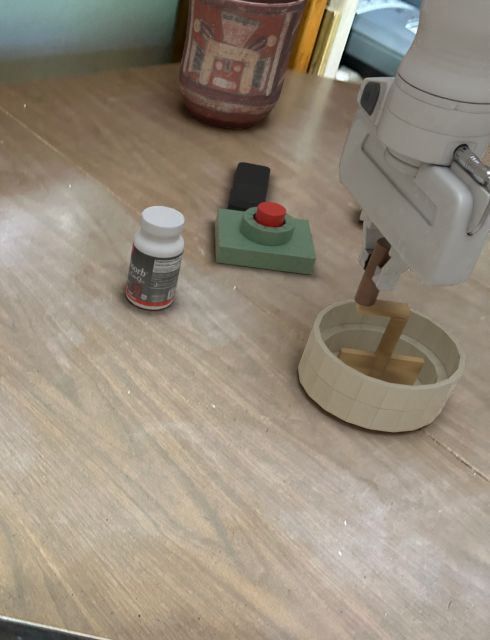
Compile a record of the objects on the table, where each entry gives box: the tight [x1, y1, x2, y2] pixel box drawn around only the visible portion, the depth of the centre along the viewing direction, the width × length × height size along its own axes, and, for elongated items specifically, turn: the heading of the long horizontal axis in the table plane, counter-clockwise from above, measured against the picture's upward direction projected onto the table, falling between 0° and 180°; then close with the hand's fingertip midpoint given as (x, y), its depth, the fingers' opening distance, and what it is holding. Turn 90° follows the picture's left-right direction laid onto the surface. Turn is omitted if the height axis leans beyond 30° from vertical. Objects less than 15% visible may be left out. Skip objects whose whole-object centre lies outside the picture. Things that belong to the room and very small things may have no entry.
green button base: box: [214, 207, 317, 276], centre depth 98 cm, size 12×10×4 cm
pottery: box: [178, 0, 308, 130], centre depth 121 cm, size 18×18×18 cm
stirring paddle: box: [337, 237, 425, 386], centre depth 76 cm, size 9×2×15 cm, turn 85°
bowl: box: [297, 298, 467, 433], centre depth 80 cm, size 15×15×6 cm
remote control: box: [226, 161, 271, 212], centre depth 109 cm, size 5×2×15 cm
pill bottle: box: [125, 205, 186, 311], centre depth 86 cm, size 6×6×10 cm
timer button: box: [255, 201, 287, 228], centre depth 96 cm, size 4×4×2 cm
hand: (374, 276), depth 73 cm, fingers closed on stirring paddle, 2 cm apart
